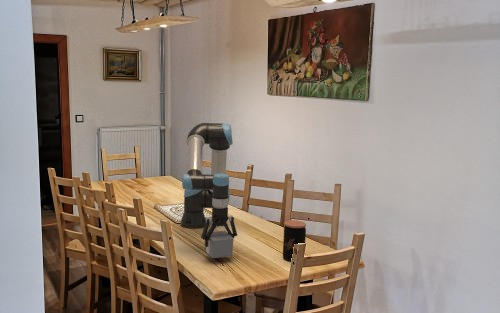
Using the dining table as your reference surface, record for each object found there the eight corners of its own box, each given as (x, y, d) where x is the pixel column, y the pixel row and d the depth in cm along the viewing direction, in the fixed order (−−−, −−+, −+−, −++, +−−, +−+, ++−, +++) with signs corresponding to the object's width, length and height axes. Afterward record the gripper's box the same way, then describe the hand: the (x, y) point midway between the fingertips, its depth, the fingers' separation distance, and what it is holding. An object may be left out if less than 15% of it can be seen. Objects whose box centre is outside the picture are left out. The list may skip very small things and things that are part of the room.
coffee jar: (278, 258, 233) (279, 222, 231) (292, 253, 241) (293, 219, 238) (294, 264, 226) (296, 227, 223) (308, 259, 233) (310, 223, 231)
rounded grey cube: (204, 249, 230) (205, 232, 228) (224, 247, 235) (225, 230, 233) (212, 258, 221) (213, 240, 219) (232, 255, 226) (233, 238, 224)
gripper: (199, 210, 216) (198, 257, 219) (245, 206, 226) (243, 251, 229) (194, 206, 223) (193, 251, 226) (239, 203, 233) (237, 246, 236)
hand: (218, 251), depth 227 cm, fingers closed on rounded grey cube, 10 cm apart
